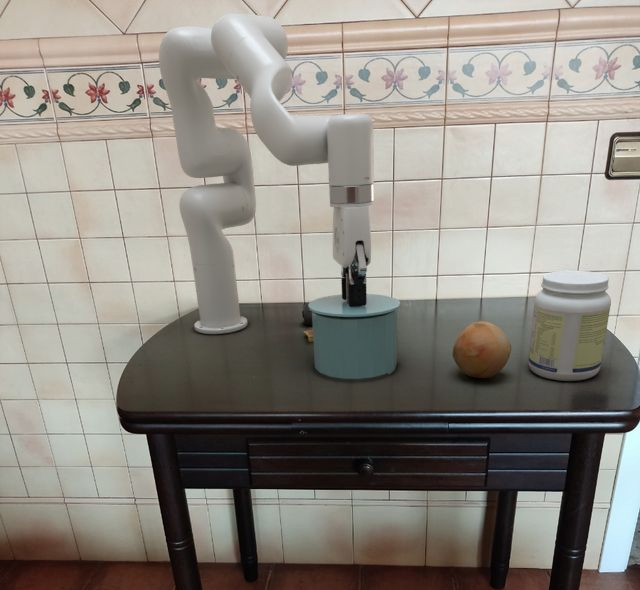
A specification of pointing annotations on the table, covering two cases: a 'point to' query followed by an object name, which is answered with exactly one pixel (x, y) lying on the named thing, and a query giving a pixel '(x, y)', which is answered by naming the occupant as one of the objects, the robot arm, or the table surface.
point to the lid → (342, 309)
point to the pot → (355, 345)
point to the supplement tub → (569, 325)
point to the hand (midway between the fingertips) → (354, 301)
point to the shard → (309, 334)
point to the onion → (481, 350)
